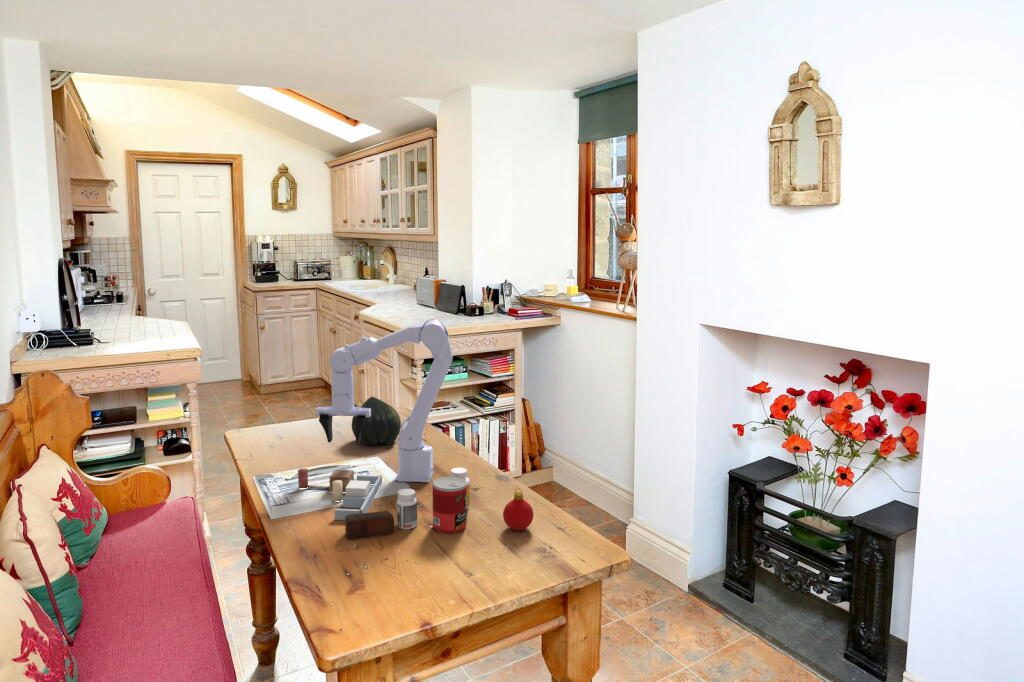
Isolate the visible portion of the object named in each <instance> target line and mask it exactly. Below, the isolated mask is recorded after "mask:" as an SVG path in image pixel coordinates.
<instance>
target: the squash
mask: <svg viewBox="0 0 1024 682" xmlns="http://www.w3.org/2000/svg"><path fill="white" fill-rule="evenodd" d="M360 407H361V408H371V416H370V417H367V419H366V422H365V424H364V427H363V430H362V433H361V439H360V442H359V443H361V444H362V445H364V446H372V445H377V444H378V443H381V444H384V445H390V444H392V443H394V442H395V441H396V439H397V438H398V437H399V434H400V432H401V425H402V420H401V417H400V415H399V412H398V411H397V409H395V407H393V406H392V405H390V404H388V403H387V402H385V401H383V400H381V399H379V398H377V397H374V396H370V397H369V398H368V399H366V400H365V401H364V402H363V404H362V405H361V406H360ZM356 418H357V416H352V419H351V430H352V433H353V434H352V435H354V438H356V427H355V419H356Z"/></svg>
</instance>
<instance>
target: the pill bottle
mask: <svg viewBox="0 0 1024 682" xmlns="http://www.w3.org/2000/svg"><path fill="white" fill-rule="evenodd" d="M396 526H397V527H398V528H399V529H402V530H411V528H412V529H414V528H416V527H417V526H418V499H417V498H416V491H415V490H414V489H412V488H403V489H399V490H398V492H397V500H396Z"/></svg>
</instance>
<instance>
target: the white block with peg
mask: <svg viewBox="0 0 1024 682" xmlns="http://www.w3.org/2000/svg"><path fill="white" fill-rule="evenodd" d="M332 484H333V493H332V502H333V501H341V500H343V499H342V498H343V497H344V494H343V492H342V481H341V480H335V481H333V482H332ZM370 486H371V485H370V481H357V480H355V479H354V480H350V482H349V483H348V485H347V486H346V488H345V489H346V494H345V497H367V496H368V494H369V493H370Z"/></svg>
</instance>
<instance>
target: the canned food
mask: <svg viewBox="0 0 1024 682" xmlns="http://www.w3.org/2000/svg"><path fill="white" fill-rule="evenodd" d="M467 510H468V509H467V482H466V481H465V480H464V479H462V478H459V477H451V476H442V477H438V478H435V479H434V480H433V481H432V526H433V528H434V530H435V531H437V530H438V531H437V532H439V531H440V532H439V533H442V532H444V533H443V534H456V533H455V532H457V533H460V532H463V531H464V530H465V529H466V526H467V520H468V519H467V513H468V512H467ZM463 529H464V530H463ZM459 531H460V532H459Z"/></svg>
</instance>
